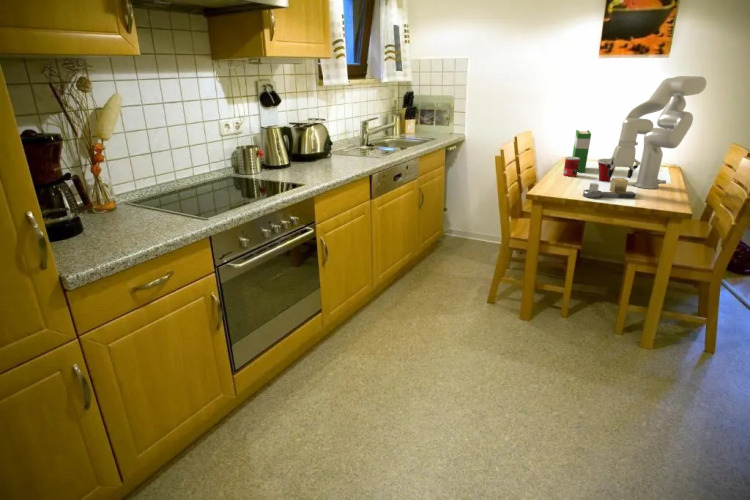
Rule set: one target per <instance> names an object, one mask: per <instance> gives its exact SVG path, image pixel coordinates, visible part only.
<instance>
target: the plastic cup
mask: <svg viewBox="0 0 750 500" xmlns="http://www.w3.org/2000/svg"><path fill="white" fill-rule="evenodd" d="M608 159H609V158H599V159H597V163H598V181H600V182H606V183H607V182H610V181H611V180H612V177H608V170H609V169H608V167H607V166H606V163H605V160H608ZM609 165H611V161H610V162H609ZM616 167H617V166H615V167H614V168H613V169H612V170H613V173H612V175H614V171H615V169H616Z"/></svg>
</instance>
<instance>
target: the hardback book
mask: <svg viewBox="0 0 750 500" xmlns="http://www.w3.org/2000/svg"><path fill="white" fill-rule="evenodd" d="M591 137H592V133H591V131H590V130H589V129H587V130H586V131H585V130H583V131H582V130H581V131H580V130H578V129H576V130H575V136H574V144H573V150H572V154H571V155H572V156H571V157H578V158H580V160H579V167H578V173H579V174H585V173H586V167H587V162H588V156H589V155H588V154H589V150H590V143H591V139H592V138H591ZM578 173H577V174H578Z"/></svg>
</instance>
